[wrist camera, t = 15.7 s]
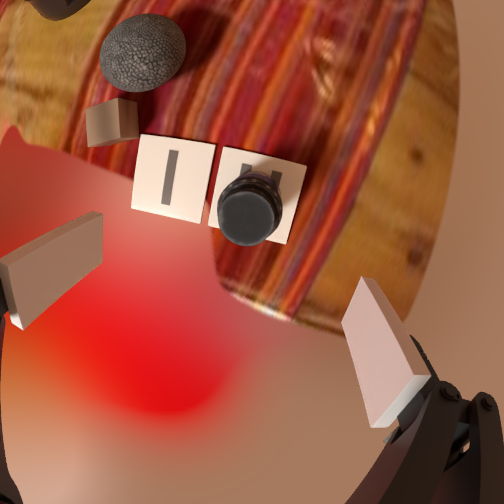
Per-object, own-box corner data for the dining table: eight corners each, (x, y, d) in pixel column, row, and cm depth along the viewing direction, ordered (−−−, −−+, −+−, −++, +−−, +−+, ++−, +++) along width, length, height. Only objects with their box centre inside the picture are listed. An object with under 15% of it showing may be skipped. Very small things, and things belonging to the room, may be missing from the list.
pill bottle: (219, 196, 33) (193, 218, 23) (254, 159, 31) (244, 165, 21) (255, 230, 34) (246, 268, 24) (292, 196, 32) (299, 220, 22)
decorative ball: (141, 111, 30) (97, 104, 21) (117, 58, 27) (74, 41, 18) (209, 71, 28) (183, 45, 18) (178, 18, 25) (149, -15, 16)
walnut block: (109, 145, 32) (88, 147, 27) (106, 111, 30) (85, 109, 26) (139, 137, 31) (120, 137, 27) (137, 102, 30) (117, 97, 25)
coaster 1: (132, 207, 35) (130, 208, 34) (142, 134, 31) (140, 134, 31) (201, 222, 35) (199, 224, 34) (215, 145, 31) (215, 145, 31)
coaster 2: (208, 224, 35) (207, 225, 34) (224, 146, 31) (223, 146, 31) (285, 243, 35) (285, 244, 34) (306, 165, 31) (307, 166, 31)
